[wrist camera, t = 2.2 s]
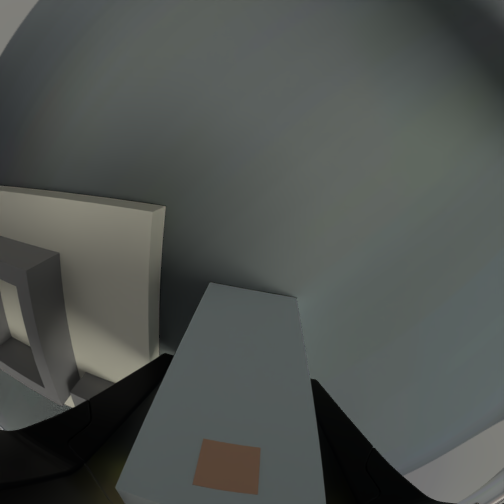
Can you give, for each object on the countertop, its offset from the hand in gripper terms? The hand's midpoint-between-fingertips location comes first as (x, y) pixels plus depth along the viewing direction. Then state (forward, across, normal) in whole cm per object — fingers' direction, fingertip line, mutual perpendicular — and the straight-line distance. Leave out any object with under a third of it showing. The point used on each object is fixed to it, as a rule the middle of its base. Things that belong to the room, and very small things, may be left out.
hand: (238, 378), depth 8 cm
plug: (+3, 0, 0) cm, 3 cm away
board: (+2, +9, +2) cm, 9 cm away
